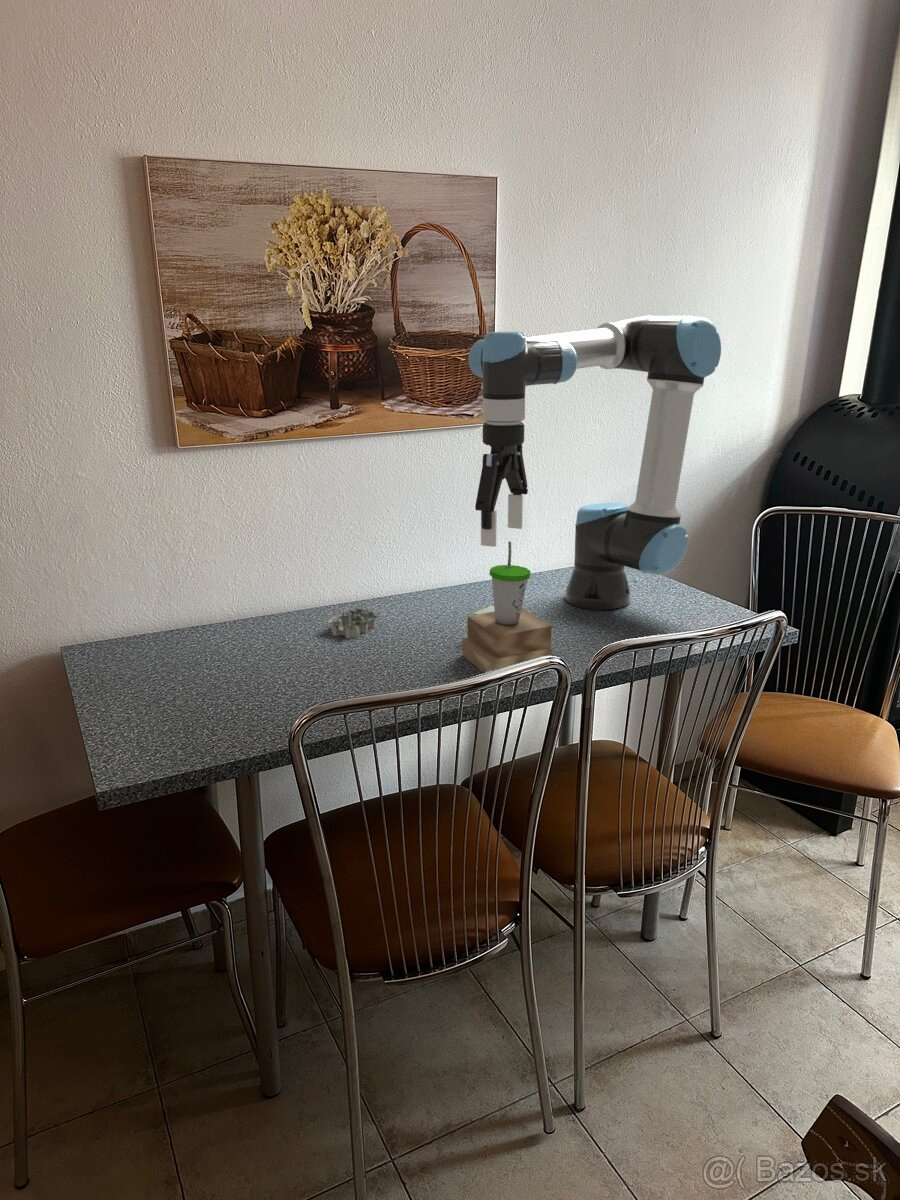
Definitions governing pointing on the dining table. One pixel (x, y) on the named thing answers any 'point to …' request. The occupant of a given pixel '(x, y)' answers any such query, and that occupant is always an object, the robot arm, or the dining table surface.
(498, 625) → the tower top
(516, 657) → the block
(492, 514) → the robot arm
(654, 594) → the dining table surface
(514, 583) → the cup
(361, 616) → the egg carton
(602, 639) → the dining table surface
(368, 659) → the dining table surface
